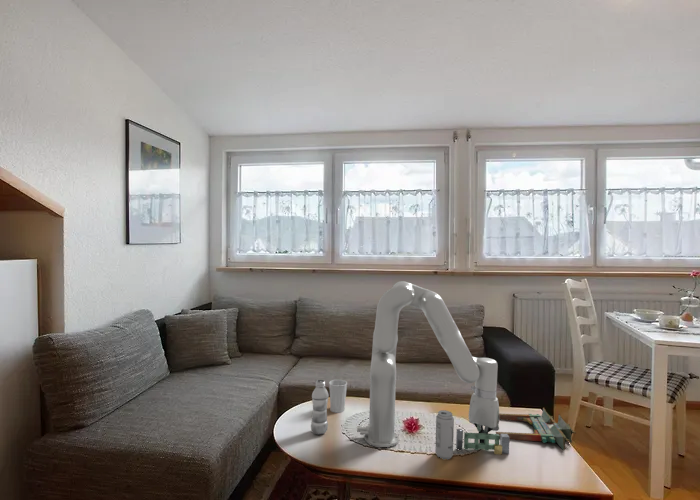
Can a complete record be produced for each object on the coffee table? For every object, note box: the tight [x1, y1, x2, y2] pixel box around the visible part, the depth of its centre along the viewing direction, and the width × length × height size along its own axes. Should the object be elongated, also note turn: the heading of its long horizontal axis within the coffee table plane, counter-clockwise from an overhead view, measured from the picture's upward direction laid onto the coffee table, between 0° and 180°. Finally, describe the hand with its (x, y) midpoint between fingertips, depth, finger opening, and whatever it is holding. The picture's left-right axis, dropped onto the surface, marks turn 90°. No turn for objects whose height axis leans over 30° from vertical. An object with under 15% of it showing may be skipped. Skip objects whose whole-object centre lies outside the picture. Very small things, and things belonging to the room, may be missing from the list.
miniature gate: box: [495, 407, 577, 451], centre depth 160 cm, size 27×6×30 cm
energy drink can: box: [435, 409, 455, 460], centre depth 139 cm, size 6×6×15 cm
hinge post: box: [455, 428, 464, 450], centre depth 144 cm, size 2×2×7 cm
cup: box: [328, 379, 348, 414], centre depth 176 cm, size 8×8×12 cm
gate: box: [463, 431, 500, 452], centre depth 143 cm, size 12×1×6 cm, turn 87°
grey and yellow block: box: [493, 434, 510, 456], centre depth 142 cm, size 5×3×6 cm, turn 86°
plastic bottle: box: [310, 379, 330, 435], centre depth 154 cm, size 6×7×20 cm
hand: (482, 442), depth 146 cm, fingers closed
